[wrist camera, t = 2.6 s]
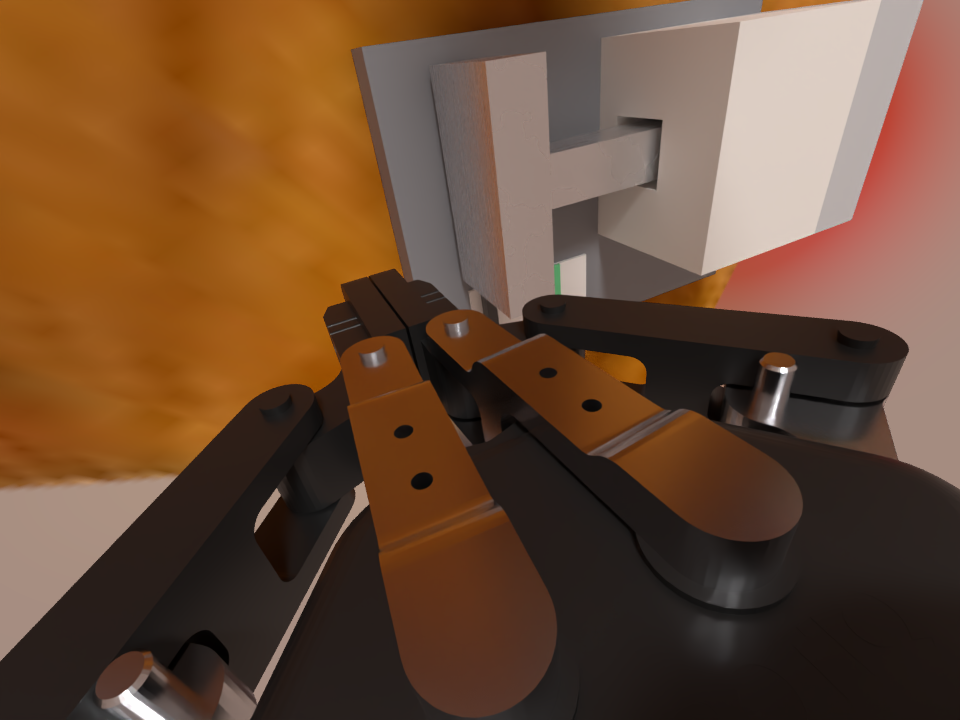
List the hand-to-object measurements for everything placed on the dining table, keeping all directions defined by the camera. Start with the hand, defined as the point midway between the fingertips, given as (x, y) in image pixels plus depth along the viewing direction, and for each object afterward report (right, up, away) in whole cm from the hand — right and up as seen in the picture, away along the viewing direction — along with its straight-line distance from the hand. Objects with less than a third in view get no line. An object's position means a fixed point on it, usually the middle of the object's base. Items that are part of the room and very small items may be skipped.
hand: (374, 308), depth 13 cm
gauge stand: (+9, +9, +16) cm, 20 cm away
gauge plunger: (+7, +7, +13) cm, 16 cm away
